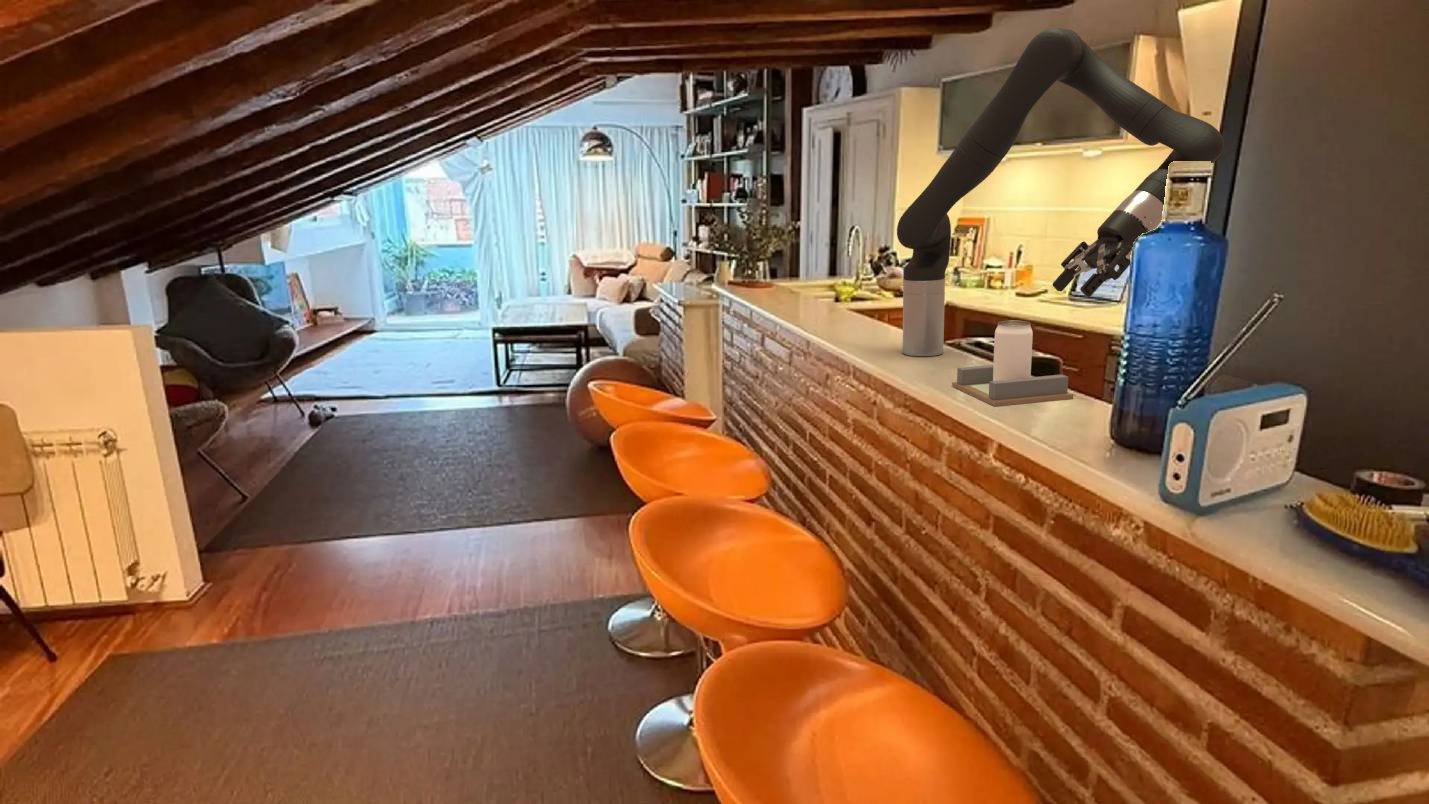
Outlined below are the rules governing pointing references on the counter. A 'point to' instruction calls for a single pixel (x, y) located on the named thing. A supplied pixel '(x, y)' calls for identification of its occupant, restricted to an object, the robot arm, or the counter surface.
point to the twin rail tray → (1010, 387)
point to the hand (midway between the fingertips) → (1069, 290)
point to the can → (1012, 350)
